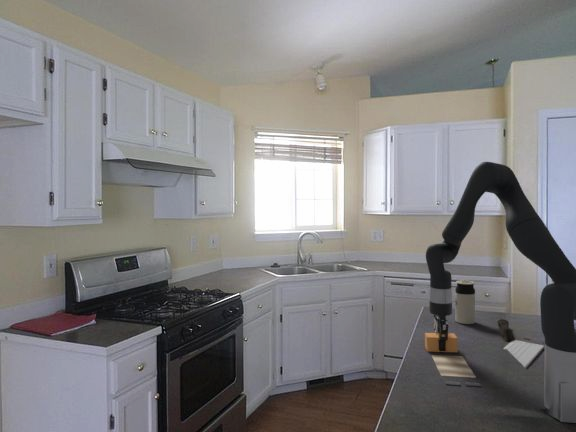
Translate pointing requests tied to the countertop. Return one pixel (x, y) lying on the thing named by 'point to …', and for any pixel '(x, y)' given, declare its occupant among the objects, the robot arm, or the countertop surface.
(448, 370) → the plywood board
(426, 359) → the countertop surface
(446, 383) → the charcoal stick
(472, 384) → the charcoal stick
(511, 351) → the baseboard
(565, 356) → the robot arm
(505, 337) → the brown pointed piece
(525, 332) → the countertop surface
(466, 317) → the travel mug
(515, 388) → the countertop surface
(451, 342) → the block
